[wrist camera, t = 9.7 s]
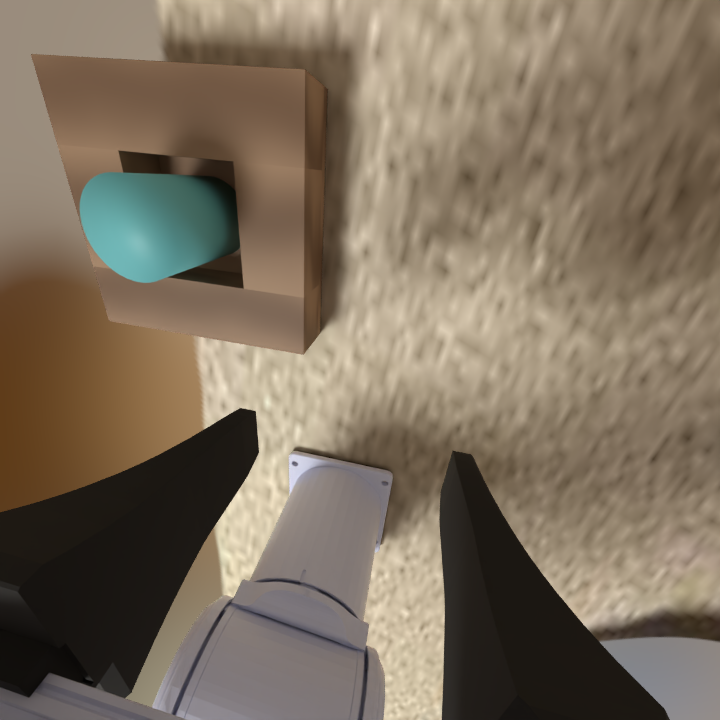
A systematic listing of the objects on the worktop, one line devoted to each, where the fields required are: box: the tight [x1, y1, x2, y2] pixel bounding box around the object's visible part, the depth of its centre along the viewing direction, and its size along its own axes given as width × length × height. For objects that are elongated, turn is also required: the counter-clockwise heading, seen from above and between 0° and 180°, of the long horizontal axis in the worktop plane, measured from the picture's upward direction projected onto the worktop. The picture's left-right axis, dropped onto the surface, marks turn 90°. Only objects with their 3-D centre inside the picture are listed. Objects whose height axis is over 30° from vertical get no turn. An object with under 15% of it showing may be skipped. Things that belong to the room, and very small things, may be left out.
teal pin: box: [80, 172, 240, 283], centre depth 16 cm, size 4×4×6 cm
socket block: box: [31, 54, 328, 355], centre depth 17 cm, size 12×12×3 cm
